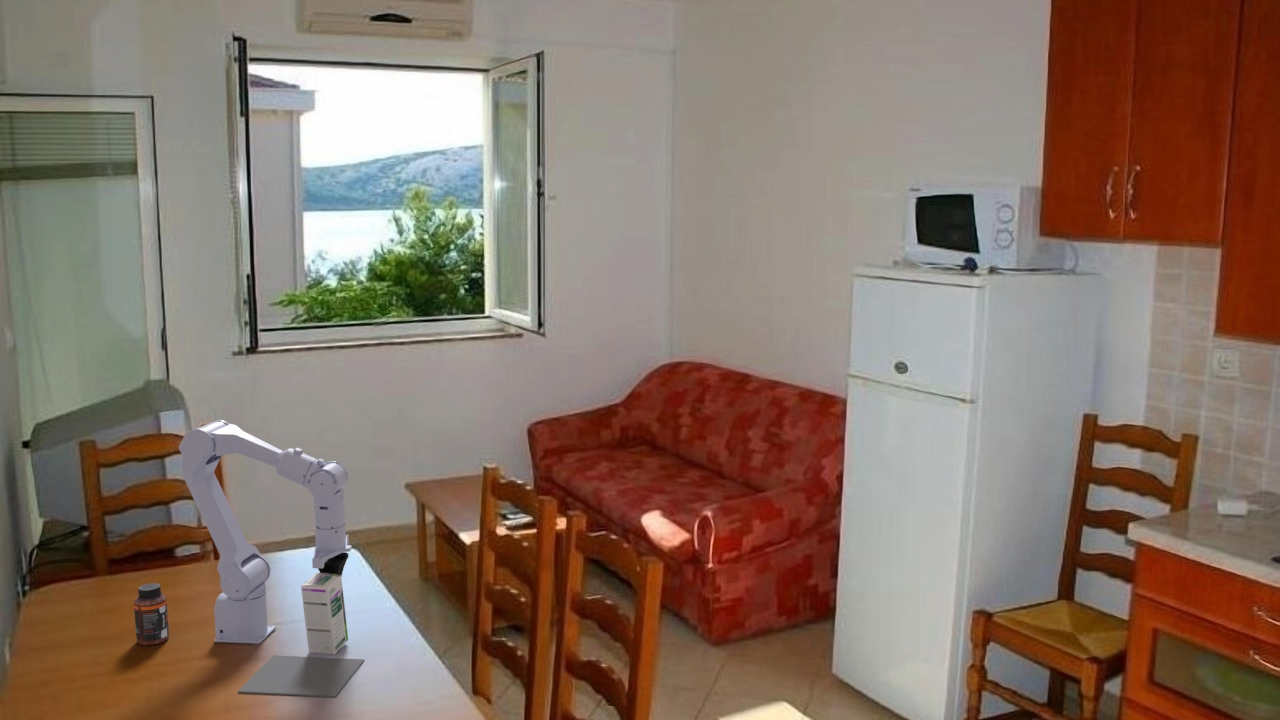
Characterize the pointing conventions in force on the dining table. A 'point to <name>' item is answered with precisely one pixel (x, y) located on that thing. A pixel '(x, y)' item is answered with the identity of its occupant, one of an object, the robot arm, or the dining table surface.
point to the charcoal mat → (302, 676)
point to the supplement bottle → (151, 615)
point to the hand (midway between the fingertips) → (332, 590)
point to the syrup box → (324, 613)
